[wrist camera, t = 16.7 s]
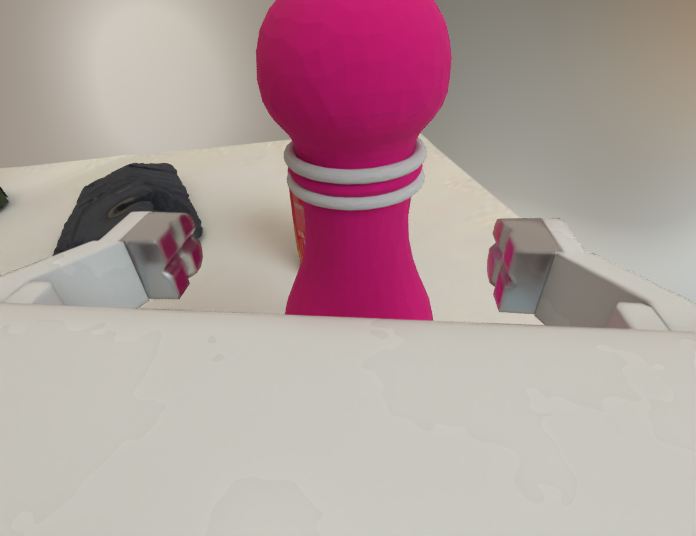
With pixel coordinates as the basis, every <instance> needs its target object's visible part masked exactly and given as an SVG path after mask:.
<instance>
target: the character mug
mask: <svg viewBox="0 0 696 536" xmlns="http://www.w3.org/2000/svg"><path fill="white" fill-rule="evenodd" d="M5 196H6V197H8V196H7V195H6V194H5V192H4V191H3V190H2V188H1V187H0V207H2V206H3V205H5V204H6V203H7V202H8V200H7V198H6V197H5Z"/></svg>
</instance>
